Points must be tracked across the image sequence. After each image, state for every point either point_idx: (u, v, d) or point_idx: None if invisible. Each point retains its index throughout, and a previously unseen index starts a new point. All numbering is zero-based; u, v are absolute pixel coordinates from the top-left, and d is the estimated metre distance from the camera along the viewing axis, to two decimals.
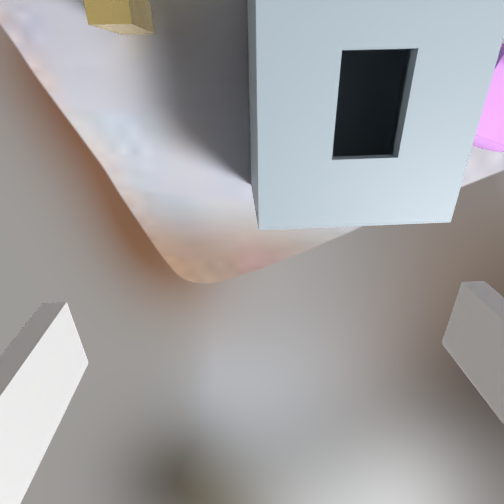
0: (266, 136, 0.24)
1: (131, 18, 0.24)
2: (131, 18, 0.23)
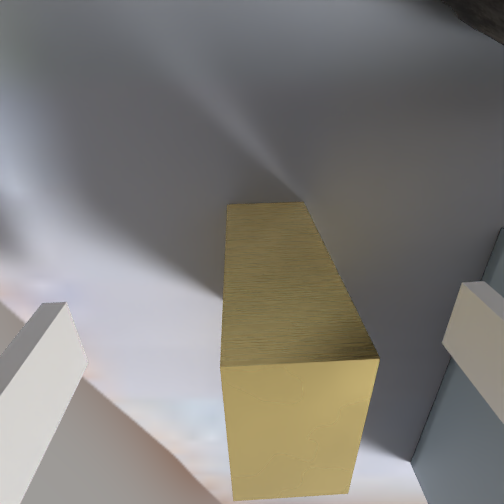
0: None
1: None
2: (349, 486, 0.09)
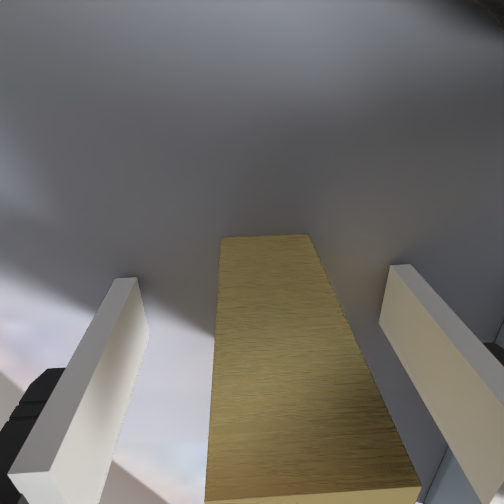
0: None
1: None
2: None
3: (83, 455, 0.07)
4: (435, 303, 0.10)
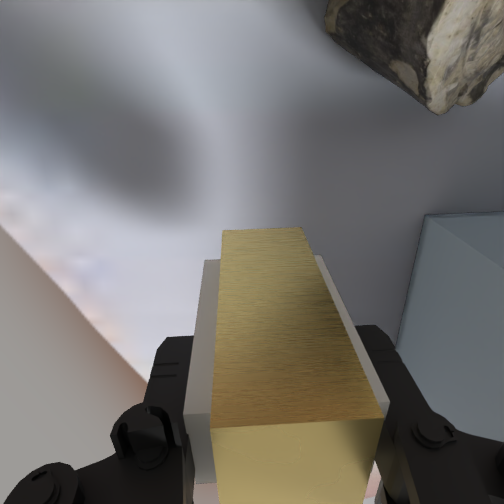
0: None
1: None
2: None
3: None
4: None
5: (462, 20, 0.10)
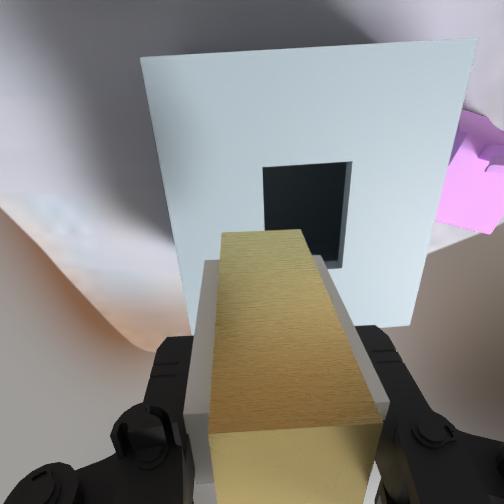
0: (187, 255, 0.21)
1: None
2: None
3: None
4: (327, 289, 0.11)
5: None
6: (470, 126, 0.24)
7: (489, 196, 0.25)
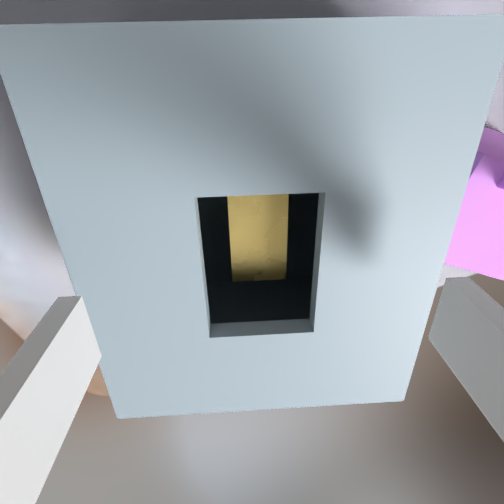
0: (96, 312, 0.15)
1: None
2: None
3: None
4: None
5: None
6: (486, 145, 0.18)
7: None
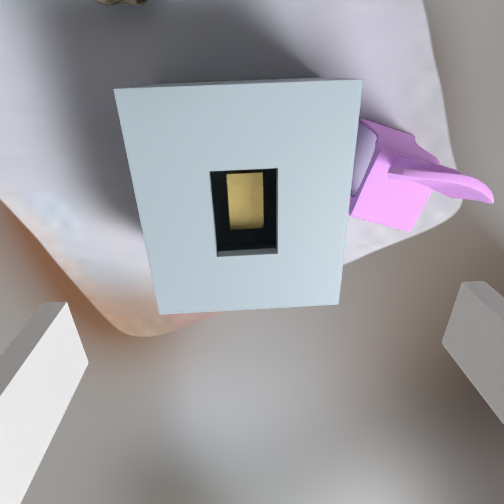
0: (152, 239, 0.26)
1: None
2: (263, 224, 0.30)
3: None
4: None
5: None
6: (387, 143, 0.30)
7: (405, 200, 0.31)
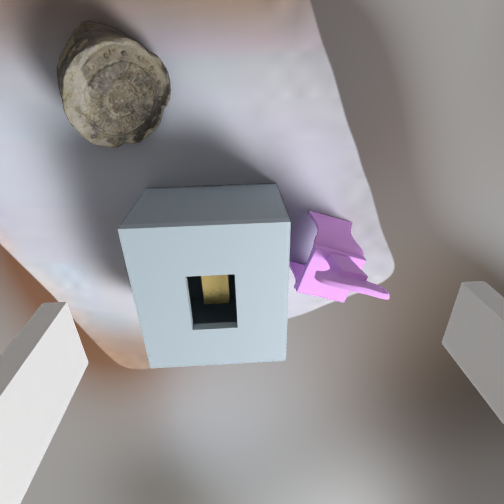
0: (144, 319, 0.36)
1: None
2: (229, 300, 0.40)
3: None
4: None
5: (82, 123, 0.32)
6: (323, 240, 0.39)
7: None
